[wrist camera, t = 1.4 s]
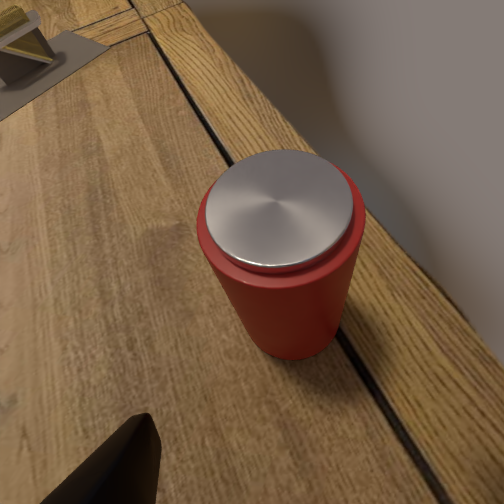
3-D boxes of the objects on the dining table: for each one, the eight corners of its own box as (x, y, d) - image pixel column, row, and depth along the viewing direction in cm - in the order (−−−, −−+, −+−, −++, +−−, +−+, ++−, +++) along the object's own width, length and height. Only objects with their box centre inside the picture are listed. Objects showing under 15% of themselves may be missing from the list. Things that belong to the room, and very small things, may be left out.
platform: (110, 47, 44) (81, -10, 39) (-5, 124, 39) (-58, 71, 33) (65, 29, 49) (35, -23, 44) (-42, 95, 44) (-93, 45, 38)
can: (346, 359, 20) (386, 274, 10) (243, 361, 20) (181, 286, 11) (333, 265, 23) (353, 131, 13) (244, 271, 24) (199, 149, 14)
